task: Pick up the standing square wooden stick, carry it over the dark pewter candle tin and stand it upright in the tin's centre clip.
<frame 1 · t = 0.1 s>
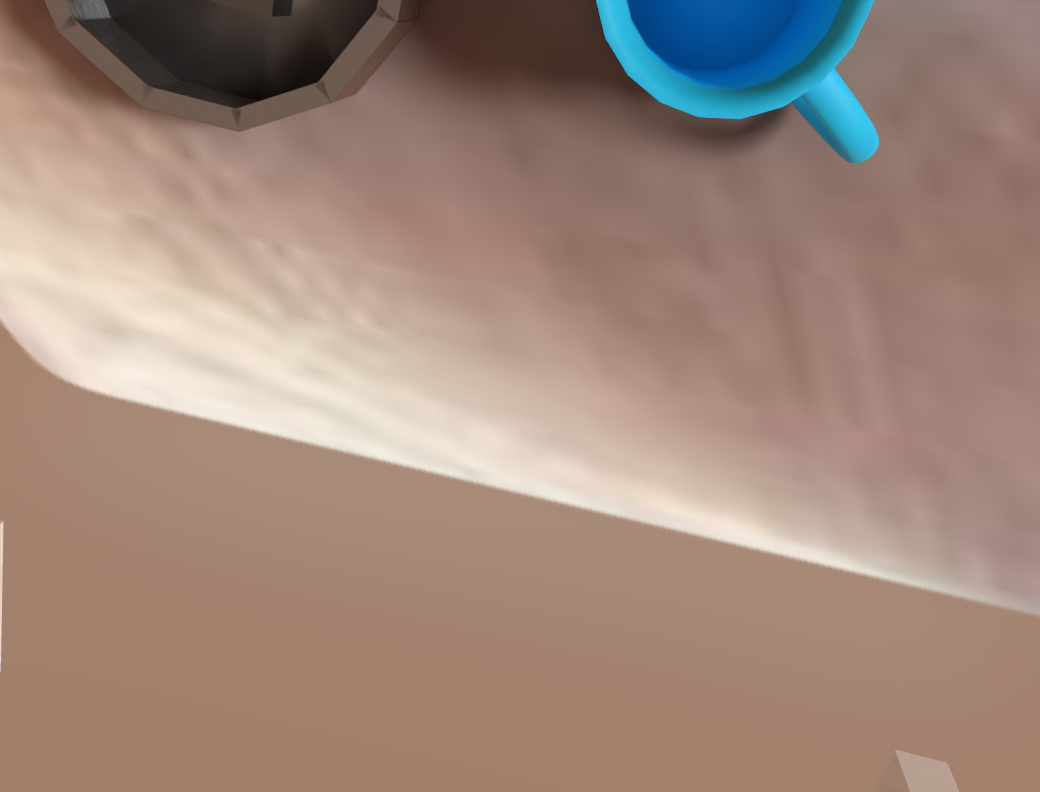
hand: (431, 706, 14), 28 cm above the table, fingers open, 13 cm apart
mug: (743, 19, 36), on the table
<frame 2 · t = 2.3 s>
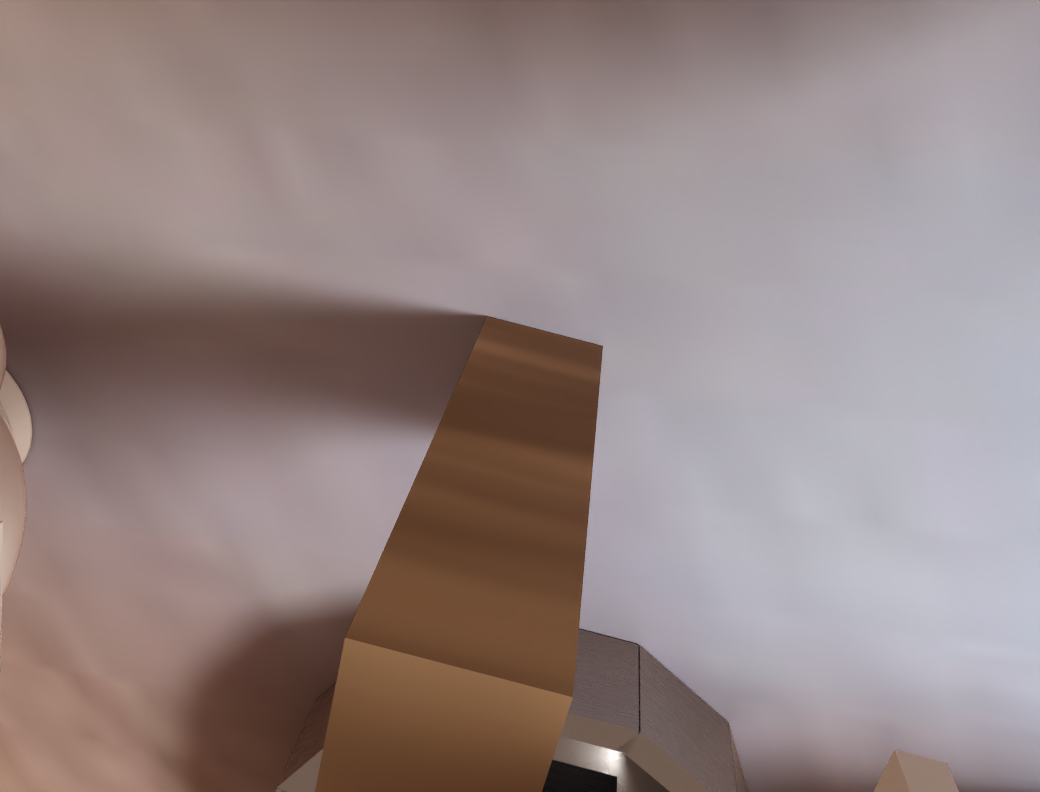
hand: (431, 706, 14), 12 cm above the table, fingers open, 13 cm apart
square wooden stick: (531, 384, 25), on the table
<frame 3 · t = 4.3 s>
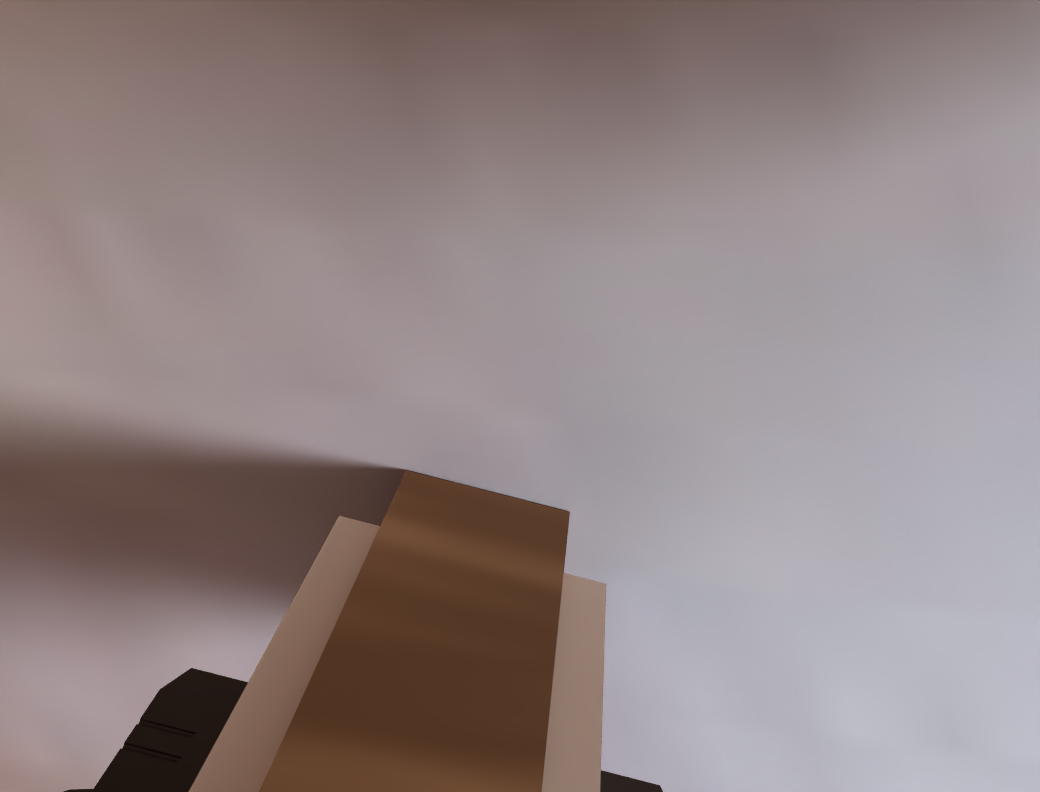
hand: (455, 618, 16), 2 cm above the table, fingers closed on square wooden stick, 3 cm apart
square wooden stick: (470, 560, 18), on the table, touching gripper
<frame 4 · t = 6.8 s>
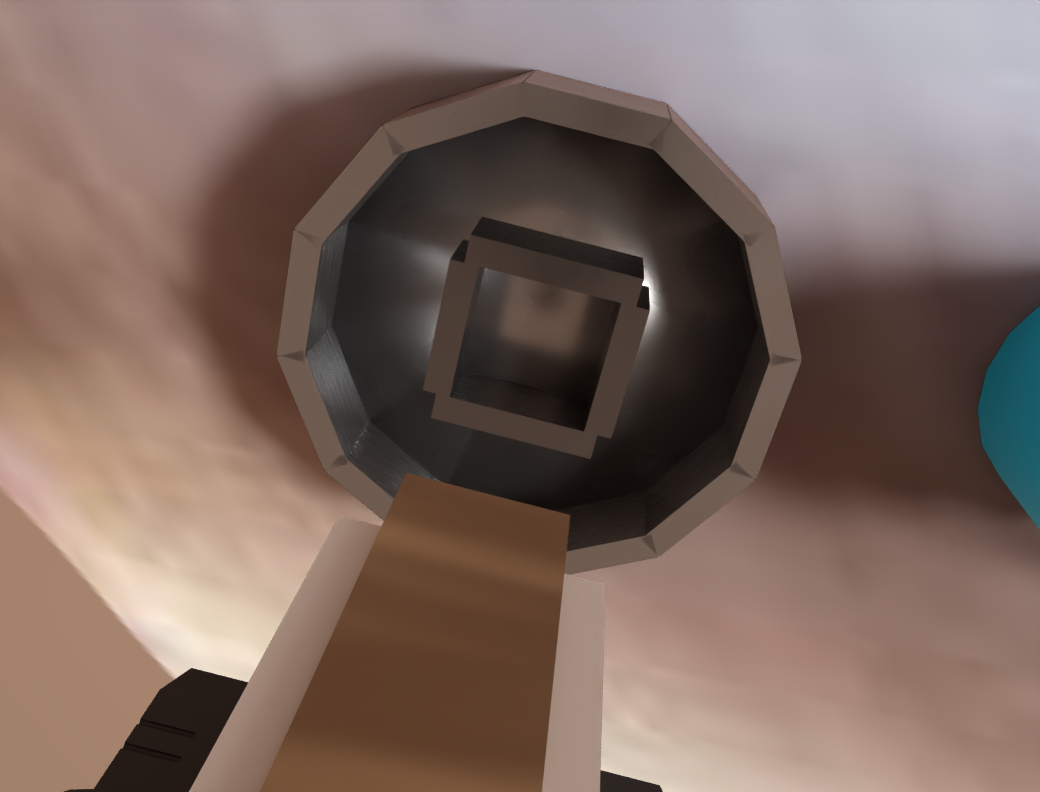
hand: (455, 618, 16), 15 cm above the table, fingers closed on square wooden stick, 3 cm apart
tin: (542, 317, 30), on the table
square wooden stick: (470, 563, 18), point 13 cm above the table, touching gripper
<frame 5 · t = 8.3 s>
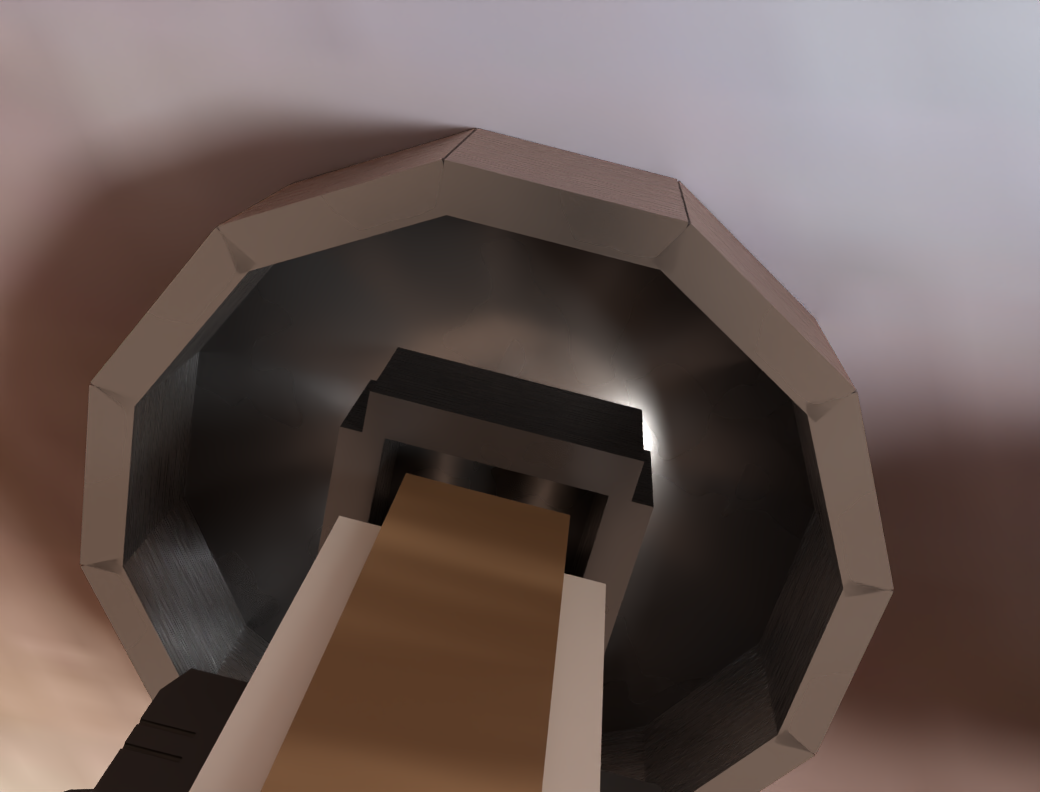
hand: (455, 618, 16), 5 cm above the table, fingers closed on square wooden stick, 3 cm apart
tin: (493, 483, 20), on the table
square wooden stick: (470, 563, 18), point 3 cm above the table, touching gripper
when the fingers open (4 cm above the table, at t = 9.3 s): square wooden stick drops 1 cm, resting on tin.
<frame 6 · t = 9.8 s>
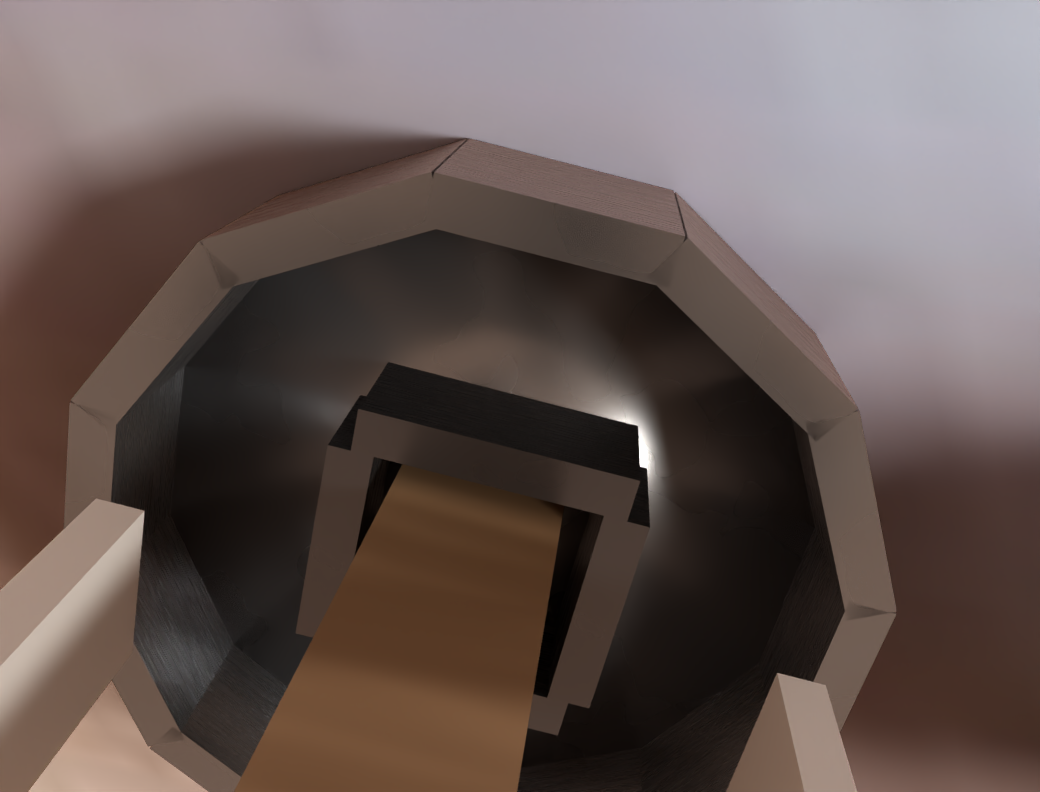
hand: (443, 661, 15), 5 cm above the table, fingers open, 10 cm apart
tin: (486, 500, 20), on the table
square wooden stick: (476, 521, 19), point 1 cm above the table, touching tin
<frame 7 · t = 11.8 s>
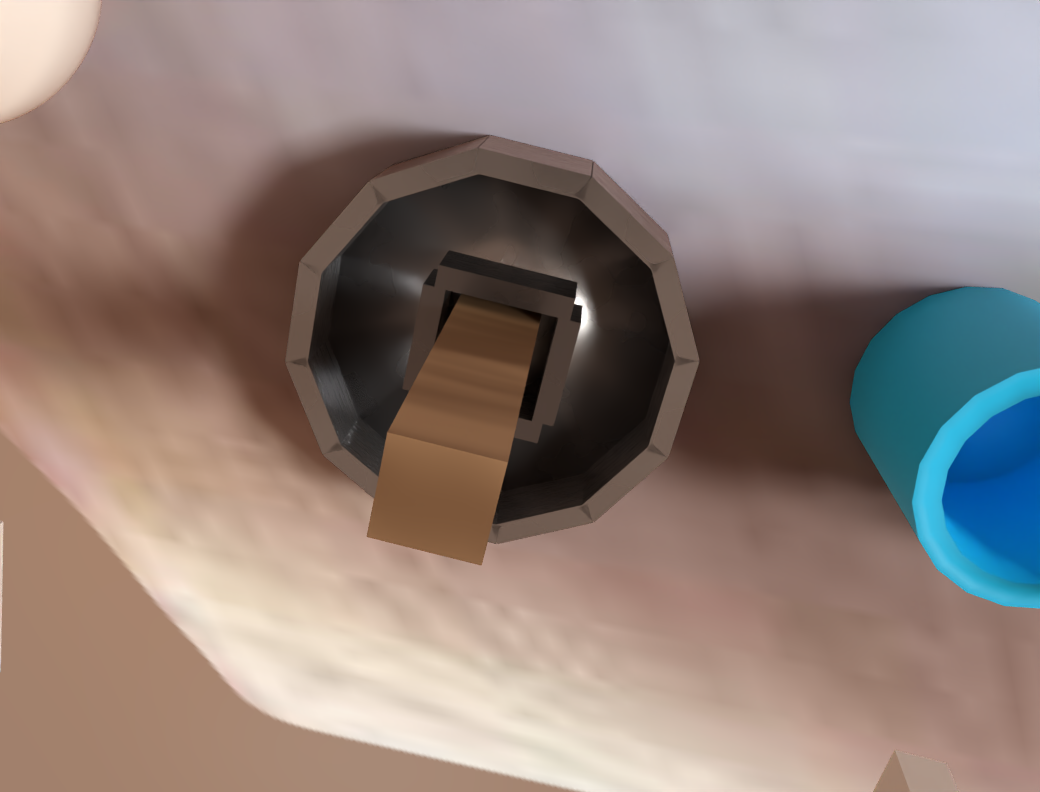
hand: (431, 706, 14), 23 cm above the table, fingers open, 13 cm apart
mug: (989, 424, 36), on the table
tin: (498, 330, 37), on the table
square wooden stick: (494, 337, 36), point 1 cm above the table, touching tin
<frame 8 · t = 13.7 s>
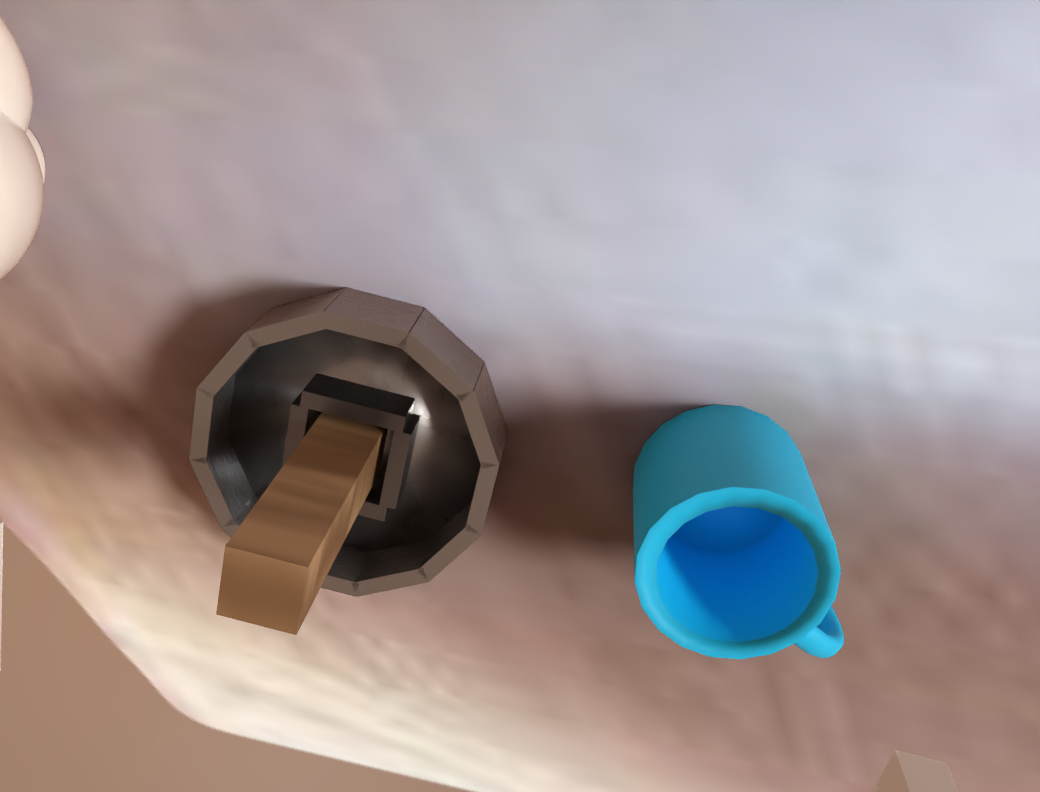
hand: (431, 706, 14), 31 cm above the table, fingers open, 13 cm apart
mug: (742, 506, 47), on the table
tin: (360, 430, 47), on the table
square wooden stick: (354, 437, 46), point 1 cm above the table, touching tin
teapot: (0, 160, 44), on the table
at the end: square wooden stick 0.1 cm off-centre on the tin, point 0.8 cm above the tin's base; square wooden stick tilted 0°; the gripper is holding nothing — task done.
